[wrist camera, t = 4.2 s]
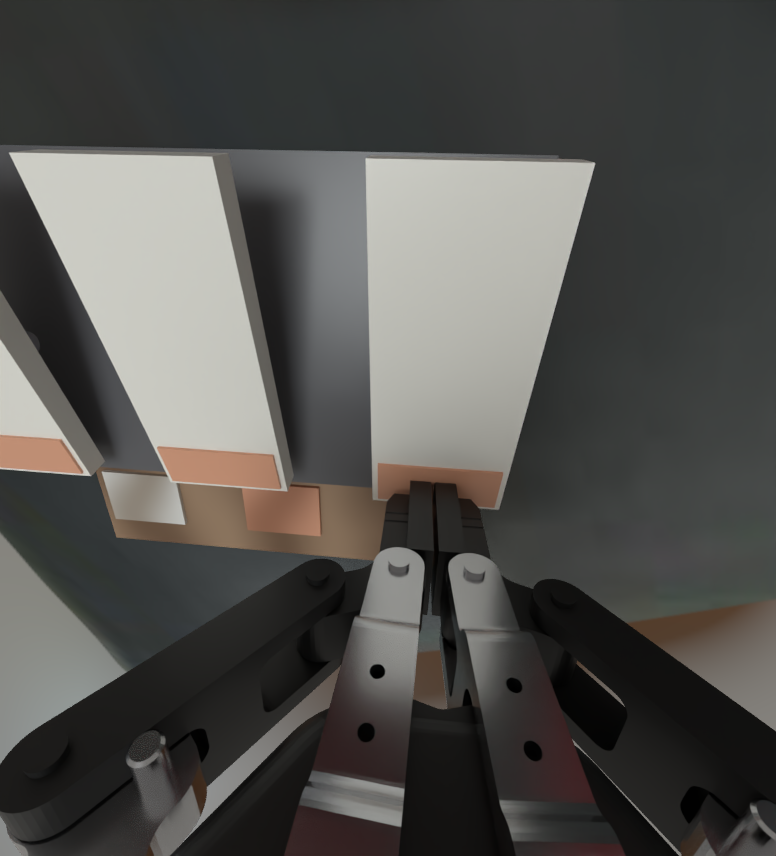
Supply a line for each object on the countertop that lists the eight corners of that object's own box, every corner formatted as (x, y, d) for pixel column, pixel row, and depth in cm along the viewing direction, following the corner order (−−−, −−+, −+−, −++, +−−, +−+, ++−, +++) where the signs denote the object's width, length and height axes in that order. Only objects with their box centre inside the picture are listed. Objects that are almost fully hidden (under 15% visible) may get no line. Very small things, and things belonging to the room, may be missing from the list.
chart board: (521, 182, 15) (529, 177, 14) (467, 555, 22) (469, 571, 21) (24, 170, 16) (-5, 165, 15) (128, 526, 24) (114, 539, 23)
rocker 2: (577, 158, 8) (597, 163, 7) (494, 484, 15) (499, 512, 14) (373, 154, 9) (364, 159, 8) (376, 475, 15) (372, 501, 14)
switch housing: (527, 178, 14) (558, 155, 11) (486, 453, 18) (498, 497, 15) (0, 166, 15) (-115, 142, 12) (81, 425, 20) (13, 460, 17)
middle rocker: (235, 151, 9) (210, 156, 8) (296, 468, 15) (286, 493, 14) (52, 148, 9) (4, 152, 8) (186, 459, 16) (169, 484, 15)
